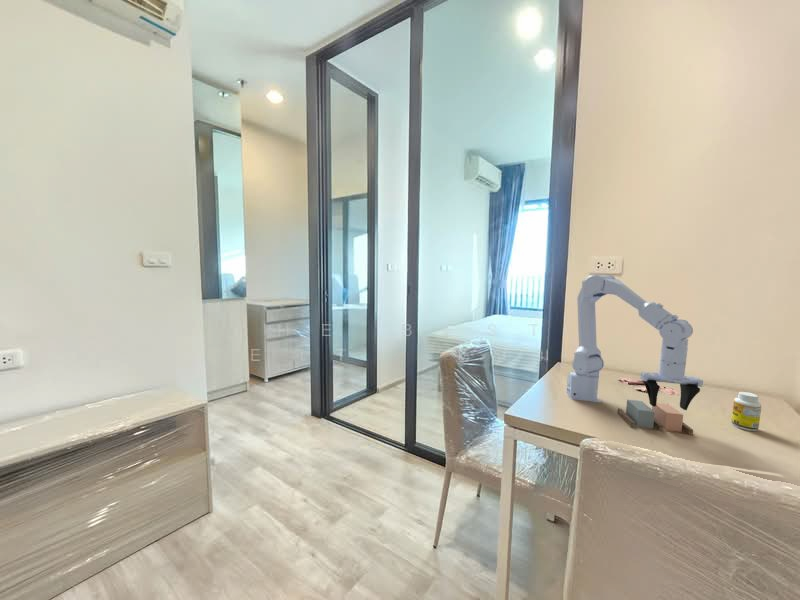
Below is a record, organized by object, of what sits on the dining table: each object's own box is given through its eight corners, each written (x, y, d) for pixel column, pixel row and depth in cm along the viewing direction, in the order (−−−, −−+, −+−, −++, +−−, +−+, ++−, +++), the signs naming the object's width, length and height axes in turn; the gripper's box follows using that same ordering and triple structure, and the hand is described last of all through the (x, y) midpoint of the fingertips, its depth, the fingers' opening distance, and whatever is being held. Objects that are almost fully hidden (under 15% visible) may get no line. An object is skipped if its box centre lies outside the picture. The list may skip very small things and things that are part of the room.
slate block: (637, 426, 94) (638, 409, 94) (625, 415, 102) (627, 399, 102) (653, 428, 93) (654, 411, 93) (640, 416, 101) (641, 401, 101)
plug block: (664, 429, 93) (666, 412, 92) (651, 417, 101) (652, 402, 100) (681, 431, 92) (683, 414, 91) (666, 419, 100) (667, 403, 99)
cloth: (690, 398, 121) (691, 392, 121) (630, 396, 121) (631, 390, 121) (649, 380, 141) (650, 375, 141) (598, 378, 142) (599, 373, 141)
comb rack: (630, 428, 94) (631, 422, 94) (617, 414, 104) (617, 408, 103) (692, 436, 90) (693, 429, 90) (672, 421, 100) (673, 414, 100)
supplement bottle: (729, 421, 101) (733, 389, 100) (756, 427, 97) (760, 394, 96) (732, 427, 96) (736, 394, 96) (759, 434, 93) (764, 399, 92)
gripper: (650, 362, 92) (645, 409, 93) (712, 368, 89) (706, 416, 90) (639, 356, 99) (634, 399, 100) (696, 361, 95) (691, 406, 97)
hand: (667, 406), depth 95 cm, fingers open, 7 cm apart
